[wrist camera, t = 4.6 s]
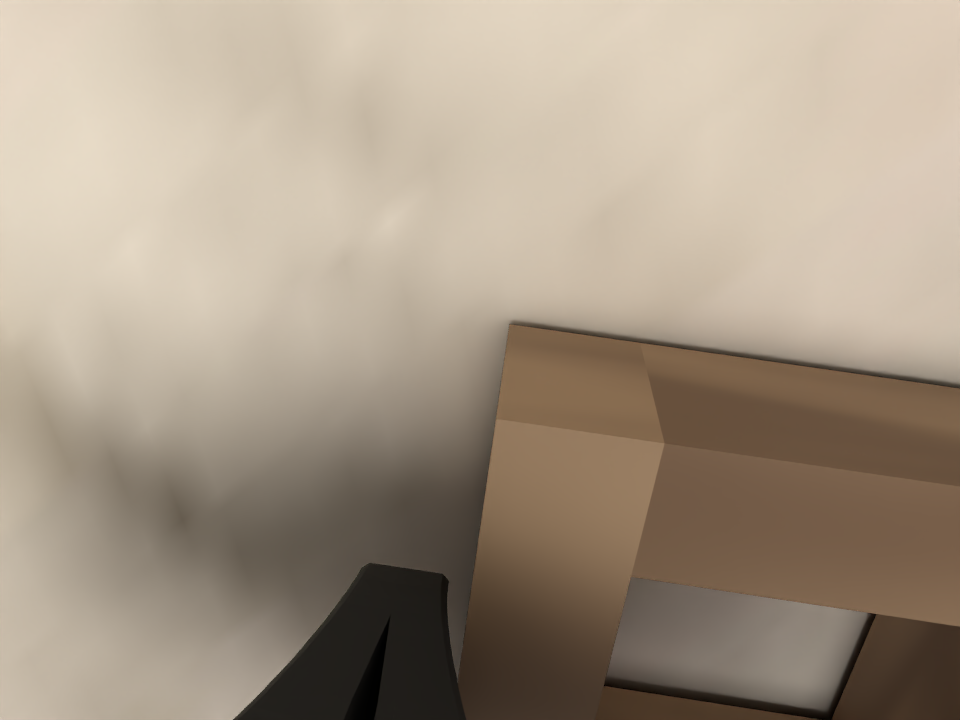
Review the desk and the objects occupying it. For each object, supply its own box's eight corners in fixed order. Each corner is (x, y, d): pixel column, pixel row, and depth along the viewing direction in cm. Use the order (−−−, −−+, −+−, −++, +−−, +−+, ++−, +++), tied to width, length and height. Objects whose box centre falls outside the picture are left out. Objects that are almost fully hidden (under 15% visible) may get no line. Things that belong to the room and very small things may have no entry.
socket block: (902, 809, 16) (974, 979, 13) (449, 738, 16) (427, 890, 13) (1107, 409, 12) (1269, 531, 9) (509, 323, 12) (496, 418, 9)
